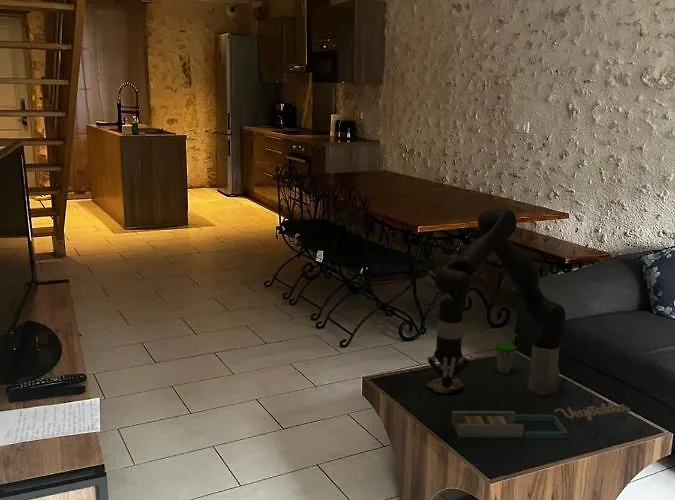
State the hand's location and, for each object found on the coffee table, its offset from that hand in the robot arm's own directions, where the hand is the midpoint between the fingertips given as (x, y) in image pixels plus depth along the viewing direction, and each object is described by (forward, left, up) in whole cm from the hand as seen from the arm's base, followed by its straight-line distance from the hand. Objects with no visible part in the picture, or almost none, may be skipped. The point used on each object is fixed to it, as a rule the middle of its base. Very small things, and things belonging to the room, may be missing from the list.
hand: (446, 387), depth 202 cm
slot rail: (-14, 0, -15) cm, 20 cm away
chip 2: (-17, 0, -14) cm, 22 cm away
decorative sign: (-54, -13, -15) cm, 57 cm away
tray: (-31, 0, -15) cm, 34 cm away
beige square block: (-10, 0, -14) cm, 17 cm away
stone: (-7, -31, -16) cm, 35 cm away
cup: (-33, -48, -15) cm, 60 cm away
